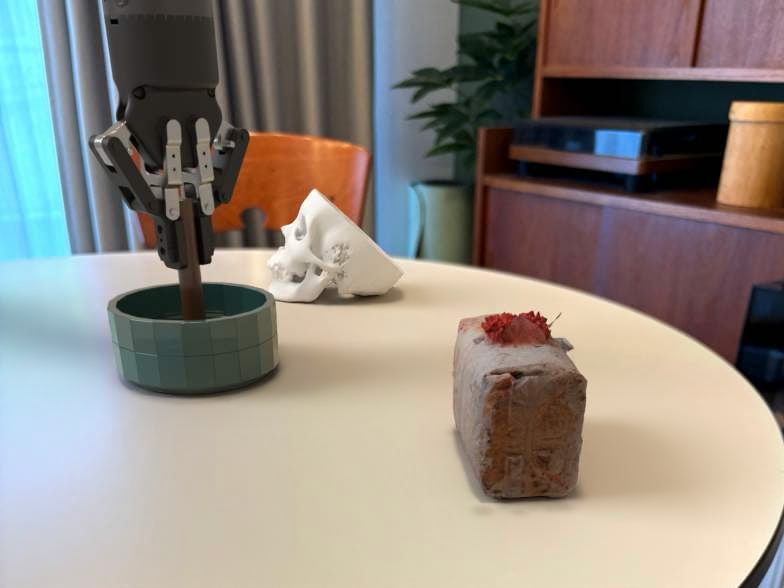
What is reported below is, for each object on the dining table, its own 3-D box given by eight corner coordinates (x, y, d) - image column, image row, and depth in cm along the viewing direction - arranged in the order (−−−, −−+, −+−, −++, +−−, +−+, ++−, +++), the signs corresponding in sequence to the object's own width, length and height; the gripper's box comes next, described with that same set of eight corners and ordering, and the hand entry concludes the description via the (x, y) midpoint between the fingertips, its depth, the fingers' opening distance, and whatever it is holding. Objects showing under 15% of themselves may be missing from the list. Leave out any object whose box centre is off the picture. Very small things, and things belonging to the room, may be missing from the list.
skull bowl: (251, 272, 97) (303, 177, 93) (353, 333, 102) (407, 245, 98) (249, 293, 88) (306, 188, 84) (360, 359, 93) (420, 263, 89)
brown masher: (193, 377, 67) (173, 206, 61) (152, 362, 70) (128, 198, 64) (246, 361, 71) (232, 199, 64) (205, 347, 74) (188, 192, 68)
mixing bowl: (184, 411, 63) (174, 333, 60) (87, 372, 70) (74, 301, 67) (311, 369, 72) (308, 299, 69) (213, 338, 79) (206, 274, 76)
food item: (440, 420, 62) (446, 286, 57) (545, 417, 63) (558, 285, 58) (469, 503, 50) (478, 344, 45) (597, 500, 51) (620, 342, 46)
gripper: (204, 16, 65) (225, 247, 73) (39, 7, 55) (85, 272, 64) (268, 15, 61) (283, 259, 69) (102, 4, 51) (143, 288, 60)
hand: (188, 264), depth 67 cm, fingers closed on brown masher, 2 cm apart
